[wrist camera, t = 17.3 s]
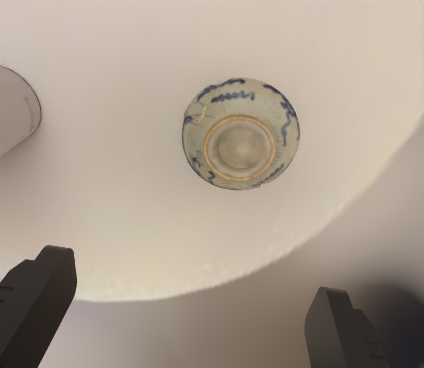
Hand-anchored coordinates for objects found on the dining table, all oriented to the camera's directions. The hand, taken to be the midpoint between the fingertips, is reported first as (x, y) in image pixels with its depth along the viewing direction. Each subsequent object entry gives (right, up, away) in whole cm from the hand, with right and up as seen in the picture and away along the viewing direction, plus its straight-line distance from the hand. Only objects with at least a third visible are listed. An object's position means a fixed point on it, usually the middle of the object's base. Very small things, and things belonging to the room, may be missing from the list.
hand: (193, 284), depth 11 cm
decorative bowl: (+4, +9, +30) cm, 32 cm away
